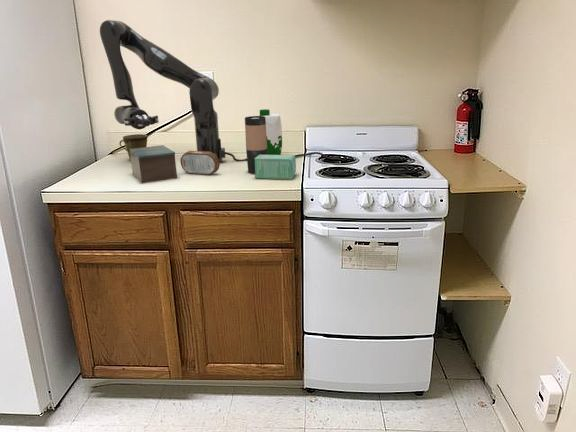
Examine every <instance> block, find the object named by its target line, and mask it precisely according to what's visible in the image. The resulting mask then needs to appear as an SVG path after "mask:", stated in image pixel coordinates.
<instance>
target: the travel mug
mask: <svg viewBox="0 0 576 432" xmlns="http://www.w3.org/2000/svg"><path fill="white" fill-rule="evenodd" d="M244 131H245V132H244V133H245V152H246V159H247V161H246V164H247V172H248V173H249V174H252V175H255V158H256V157H257V156H258V155H267V138H266V118H265V117H264V116H259V115H252V116H250V115H249V116H245V117H244Z"/></svg>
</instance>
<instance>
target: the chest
mask: <svg viewBox="0 0 576 432" xmlns="http://www.w3.org/2000/svg"><path fill="white" fill-rule="evenodd" d="M130 157H131V161H130V164H131V171H132V175H133V177H135V178H136V179H137V180H138V181H139V182H140V184H145V183H153V182H159V181H160V182H161V181H167V180H173V179H178V173H177V164H176V162H177V161H176V154H175V155H166V156H158V157H150V158H141V159H139V158H138V157H136V156H135V155H134V154H133V153H132V152H130Z"/></svg>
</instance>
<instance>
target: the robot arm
mask: <svg viewBox="0 0 576 432" xmlns="http://www.w3.org/2000/svg"><path fill="white" fill-rule="evenodd" d="M99 36H100V40H101V43H102V46H103V49H104V52H105V54H106V57H107V61H108V64H109V67H110V71H111V75H112V76H111V77H112V81H113V86H114V92H115V96H116V99H117V100H119V101H128V102H129V104H128V105H127V104H126V105H120V106H117V107H116V108H115V109H114V113H113V114H114V119H115V120H116V122H117V123H119V124H120V125H124V126H125V127H127V126H128V127H131V128H133V129H136V130H143V129H146V127H150V125H151V126H152V125H155V124H158V123H159V121H160V120H159V115H154V116H151V115H149V114H148V112H146V111H145V110H144V109H141V108H140V106H139V104H138V101H137V99H136V96H135V93H134V86H133V80H132V76H131V73H130V71H129V69H128V68H127V65H126V63H125V61H124V58H123V55H122V52H121V47H122V48H125V49H126V50H129V51H130V52H132V53H134V54H135V55H136V56H137V57H138V58H139V59H140V60H141V61H142V63H143V64H144V65H145V66H146V67H147V68H148V69H150V70H151V71H153V72H154V73H156V74H158V75H159V76H161V77H163V78H165V79H168V80H169V81H173V82H176V83H178V84H181V85H183V86H184V87H186V88H188V91H189V92H188V93H189V101H190V110H191V114H192V115H193V121H194V132H195V133H194V134H195V142H196V151H204V152H212V153H213V154H215V155H216V156H217V158H218V160H219V164H220V163H223V159H226V156H227V155H228V156H230V157H231V158H232V159H233V161H235V162H247V158H243V159H239V158H236V156H235V155H234V154H233V153H230V152H228V151H226V148H225V147H222V140H221V138H220V132H219V119H218V118H219V117H218V112H217V111H216V110H215V108H214V100H215V99H217V97H218V96H219V94H220V89H219V85H218V84H217V82H216V81H215V80H214V79H213V78H211V77H209V76H207V75H204V74H202V73H201V72H199V71H196V70H195V69H193V68H191V67H190V66H188V64H186V63H184V62H183V61H182V60H180V59H179V58H178V57H175V56H174V55H173V54H172V53H170V52H168V51H167V50H165V49H164V48H162V47H160V46H158V45H157V44H155V43H153V42H152V41H150V40H149V39H147V38H144V37H143V36H142V35H141V34H139V33H138V32H136V31H135V30H134V29H133V28H132V27H130V26H129V25H128V24H126V23H125V22H123V21H120V20H112V19H107V20H104V21H103V22H101V24H100V26H99ZM312 155H319V156H322V157H323V158H326V156H327V155H326V154H325V153H322V152H320V151H312V152H308V153H307V152H306V153H298V154H295V155H294V156H295V158H298V157H299V158H300V157H305V156H312Z"/></svg>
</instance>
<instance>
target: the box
mask: <svg viewBox="0 0 576 432" xmlns="http://www.w3.org/2000/svg"><path fill="white" fill-rule="evenodd" d="M296 171H297V161H296V157H295V156H294V155H292V154H291V155H290V154H281V155H258V156H257V157H256V158H255V174H254V178H255V179H267V180H268V179H270V180H271V179H273V180H292V179H293V178H294V176H295V175H296Z"/></svg>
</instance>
